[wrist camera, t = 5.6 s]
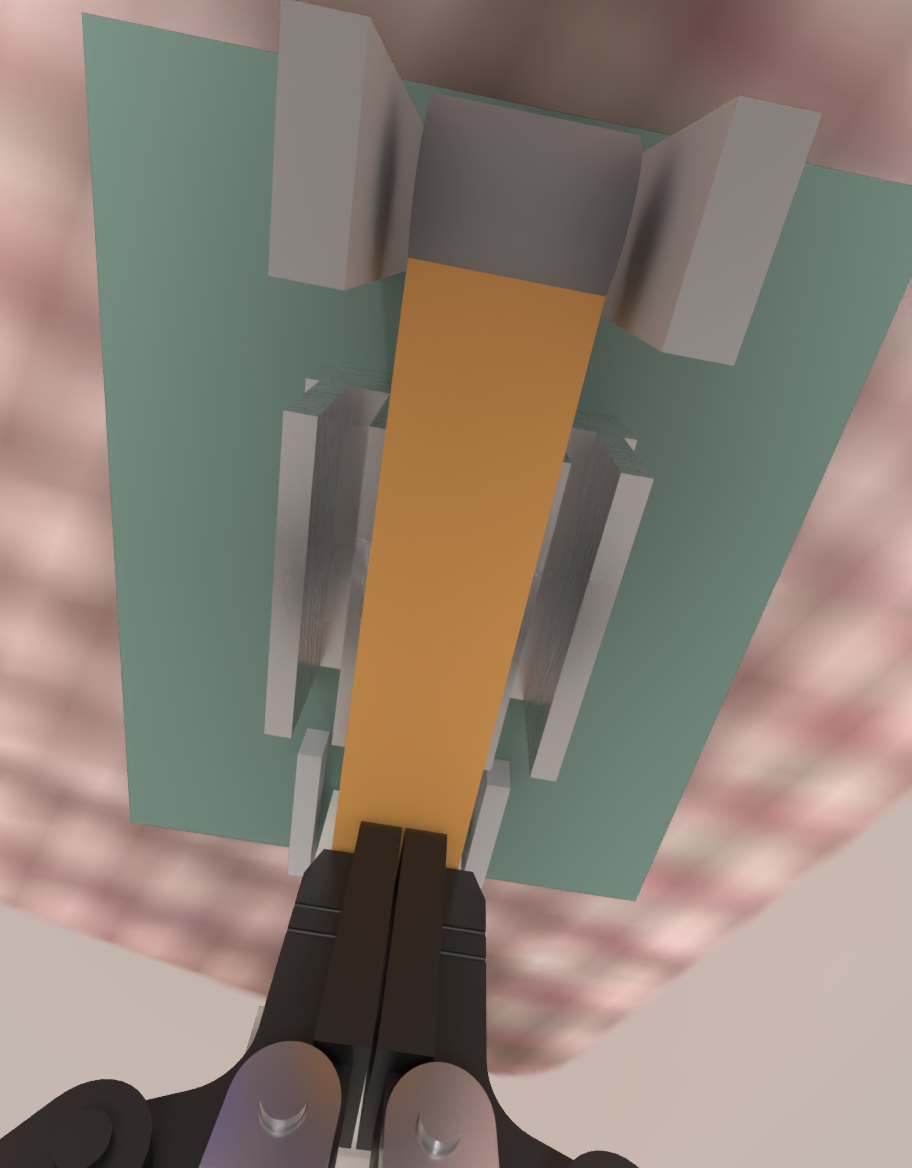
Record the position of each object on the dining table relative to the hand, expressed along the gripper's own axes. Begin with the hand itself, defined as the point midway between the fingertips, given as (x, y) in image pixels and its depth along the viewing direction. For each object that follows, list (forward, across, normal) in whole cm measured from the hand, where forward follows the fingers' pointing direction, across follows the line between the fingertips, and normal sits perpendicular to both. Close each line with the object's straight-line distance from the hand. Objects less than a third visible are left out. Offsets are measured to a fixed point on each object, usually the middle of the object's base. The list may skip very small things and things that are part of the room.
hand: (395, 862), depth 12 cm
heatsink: (+6, 0, -4) cm, 7 cm away
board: (+7, 0, -3) cm, 7 cm away
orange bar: (+1, 0, -5) cm, 5 cm away
